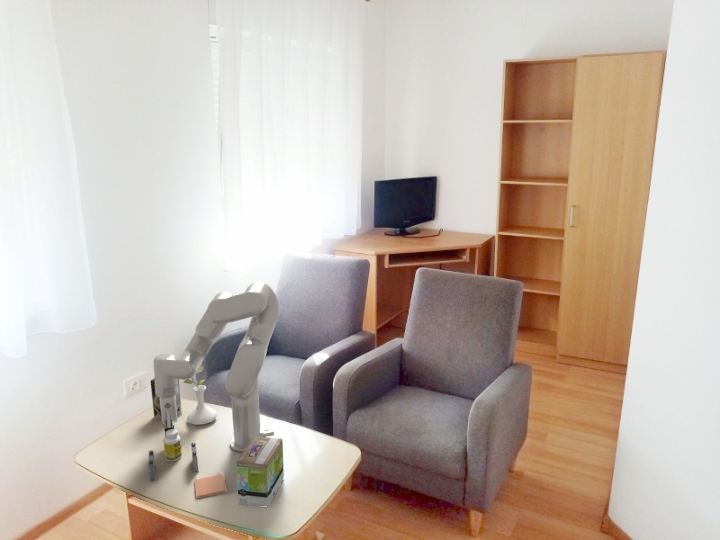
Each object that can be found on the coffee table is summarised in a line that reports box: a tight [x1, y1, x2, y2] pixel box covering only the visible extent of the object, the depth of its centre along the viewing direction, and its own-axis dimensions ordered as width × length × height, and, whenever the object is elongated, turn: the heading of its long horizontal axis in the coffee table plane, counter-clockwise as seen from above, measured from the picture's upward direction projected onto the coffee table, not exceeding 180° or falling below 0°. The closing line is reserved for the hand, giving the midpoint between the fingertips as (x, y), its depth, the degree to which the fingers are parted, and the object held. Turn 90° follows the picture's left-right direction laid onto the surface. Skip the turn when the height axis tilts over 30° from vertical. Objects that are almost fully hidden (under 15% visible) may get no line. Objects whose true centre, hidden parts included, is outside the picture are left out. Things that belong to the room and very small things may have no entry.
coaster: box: [194, 473, 227, 499], centre depth 172 cm, size 9×9×1 cm
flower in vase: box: [182, 362, 218, 426], centre depth 212 cm, size 13×11×25 cm
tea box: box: [235, 436, 285, 508], centre depth 168 cm, size 15×10×15 cm, turn 170°
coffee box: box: [150, 377, 183, 420], centre depth 216 cm, size 9×6×16 cm
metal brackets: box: [147, 442, 199, 482], centre depth 181 cm, size 15×8×7 cm, turn 110°
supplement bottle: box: [163, 428, 183, 462], centre depth 188 cm, size 5×5×10 cm
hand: (169, 436), depth 195 cm, fingers closed
